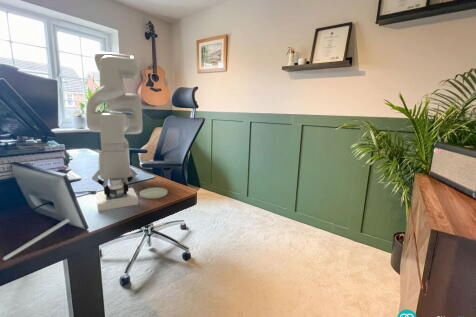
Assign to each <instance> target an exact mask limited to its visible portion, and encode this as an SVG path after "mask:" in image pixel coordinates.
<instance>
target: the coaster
mask: <svg viewBox="0 0 476 317" xmlns="http://www.w3.org/2000/svg"><path fill="white" fill-rule="evenodd" d="M167 195H168V189H167V188H164V187H148V188H144V189H142V190H140V191H139V197H140V198H142V199H148V200H155V199H161V198H163V197H166V196H167Z"/></svg>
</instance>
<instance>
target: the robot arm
mask: <svg viewBox="0 0 476 317" xmlns="http://www.w3.org/2000/svg"><path fill="white" fill-rule="evenodd" d="M94 62H95V64H96V68H97V71H99V88H98V89H97V90H95V91H94V92H93V93H92V94H91V95H90V97H89V98H88V100H87V103H86V116H85V117H86V118H85V119H86V126H87V128H88V130H90V131H91V132H94V133H99V134H100V146H101V150H100V151H99V152H98V170H97V171H96V172H95V173H94V175H92V176H91V180H92V181H94V182H96V183H98V184H99V185H101V186H102V187H103V192H104V194H105V195H106V194H107V197H109V185H108V184H109V181H110V179H115V178H121V179H122V180H123V183H122V184H123V185H124V194H125V195H127V192H128V188H129V184H130V183H131V181H132V180H133V179H134V178H135V177H136V176H138V173H137V172H136V171H135V170H134V169H133V168H132V167H131V165H130V163H131V162H130V144H129V141H128V139H127V138H125V135H139V134H141V133H142V132H143V128H144V127H143V109H142V108H143V107H142V105H143V104H142V99H141V97H140V95H138V94H137V93H133V92H132V93H131V92H129V93H127V92H125V82H124V79H132V80H136V79H137V78H138V77H139V72H140V71H139V63H138V60H137V57H136V56H134V55H130V54H125V53H124V54H123V53H118V52H117V53H116V52H109V51H108V52H107V51H100V52H99V51H98V52H97V53H95V55H94ZM103 103H105V106H106V109H107V110H108V111H96V110H97V108H98V107H99V106H100V105H101V104H103ZM126 113H129V114H131V115H128V114H126ZM99 177H100V178H99Z"/></svg>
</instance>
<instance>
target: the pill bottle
mask: <svg viewBox="0 0 476 317" xmlns="http://www.w3.org/2000/svg"><path fill="white" fill-rule="evenodd" d="M122 182H123V179H121V178H115V179H109V185H108V187H109V200H110V199H116V198H123V197H125V195H124V185H123V183H122Z"/></svg>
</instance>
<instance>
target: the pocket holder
mask: <svg viewBox="0 0 476 317" xmlns="http://www.w3.org/2000/svg"><path fill="white" fill-rule="evenodd" d="M124 195H125V194H124ZM96 205H97V211H98V212H100V211H101V212H103V211H108V210H113V209H118V208H124V207H129V206H136V205H139V197H138V195H137V194H136V192H135V190H134V188H133V187H128V192H127V195H125V197H123V198H116V199H110V200H109V197H107V194H106V195H105V194H104V191H99V192H96Z"/></svg>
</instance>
